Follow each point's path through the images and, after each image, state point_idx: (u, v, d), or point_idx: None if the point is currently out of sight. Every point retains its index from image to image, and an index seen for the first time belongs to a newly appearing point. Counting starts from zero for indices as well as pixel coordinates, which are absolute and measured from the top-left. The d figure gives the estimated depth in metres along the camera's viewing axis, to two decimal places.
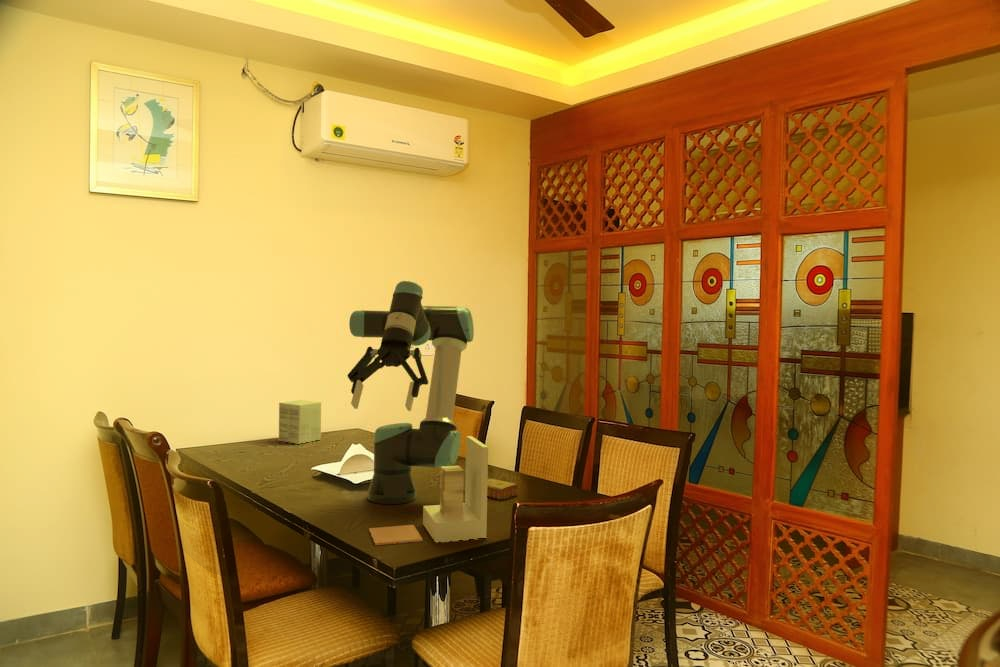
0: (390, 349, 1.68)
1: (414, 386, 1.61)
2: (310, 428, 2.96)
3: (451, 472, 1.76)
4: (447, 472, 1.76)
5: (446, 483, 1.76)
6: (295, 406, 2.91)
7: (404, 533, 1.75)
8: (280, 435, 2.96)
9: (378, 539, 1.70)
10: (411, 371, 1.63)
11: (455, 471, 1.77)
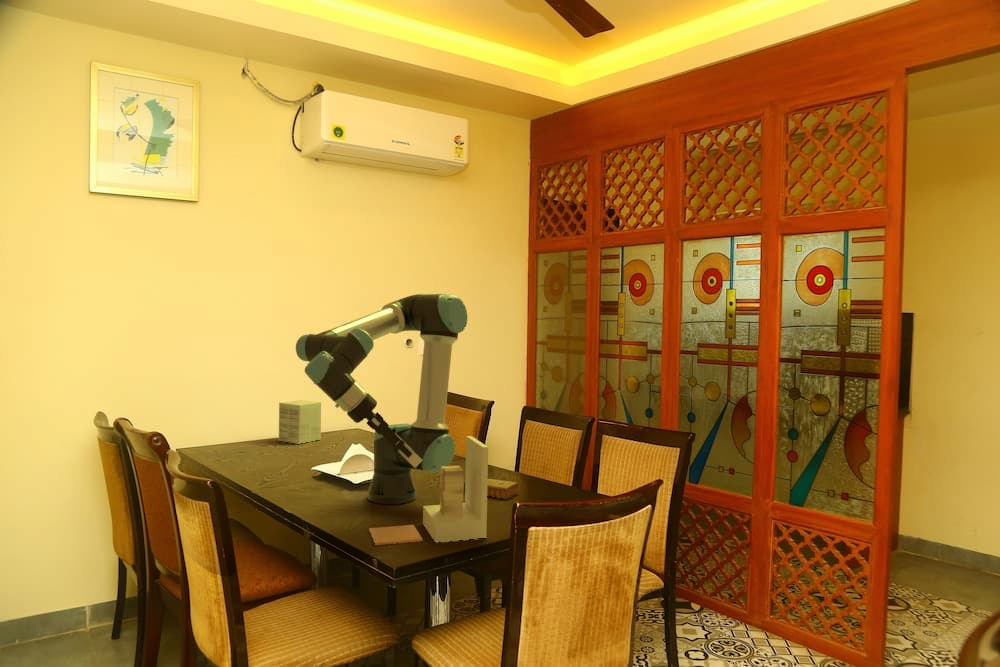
0: None
1: (402, 451, 1.67)
2: (310, 428, 2.96)
3: (451, 472, 1.76)
4: (447, 472, 1.76)
5: (446, 483, 1.76)
6: (295, 406, 2.91)
7: (404, 533, 1.75)
8: (280, 435, 2.96)
9: (378, 539, 1.70)
10: None
11: (455, 471, 1.77)
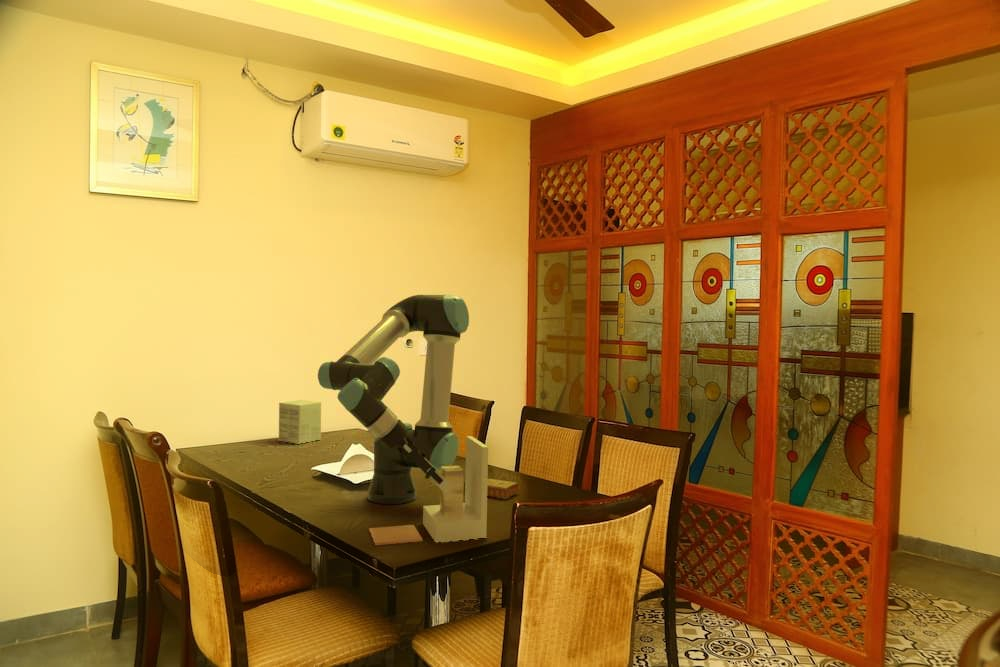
0: None
1: (433, 478, 1.69)
2: (310, 428, 2.96)
3: (451, 472, 1.76)
4: (447, 472, 1.76)
5: None
6: (295, 406, 2.91)
7: (404, 533, 1.75)
8: (280, 435, 2.96)
9: (378, 539, 1.70)
10: None
11: (455, 471, 1.77)
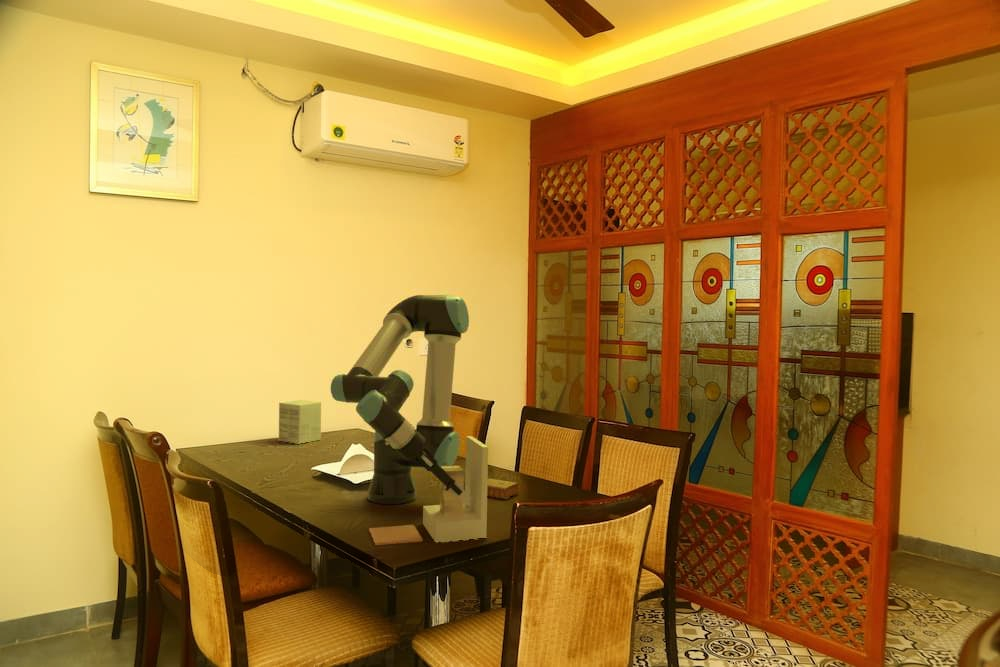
0: None
1: None
2: (310, 428, 2.96)
3: (451, 472, 1.76)
4: (447, 472, 1.76)
5: None
6: (295, 406, 2.91)
7: (404, 533, 1.75)
8: (280, 435, 2.96)
9: (378, 539, 1.70)
10: None
11: (455, 471, 1.77)
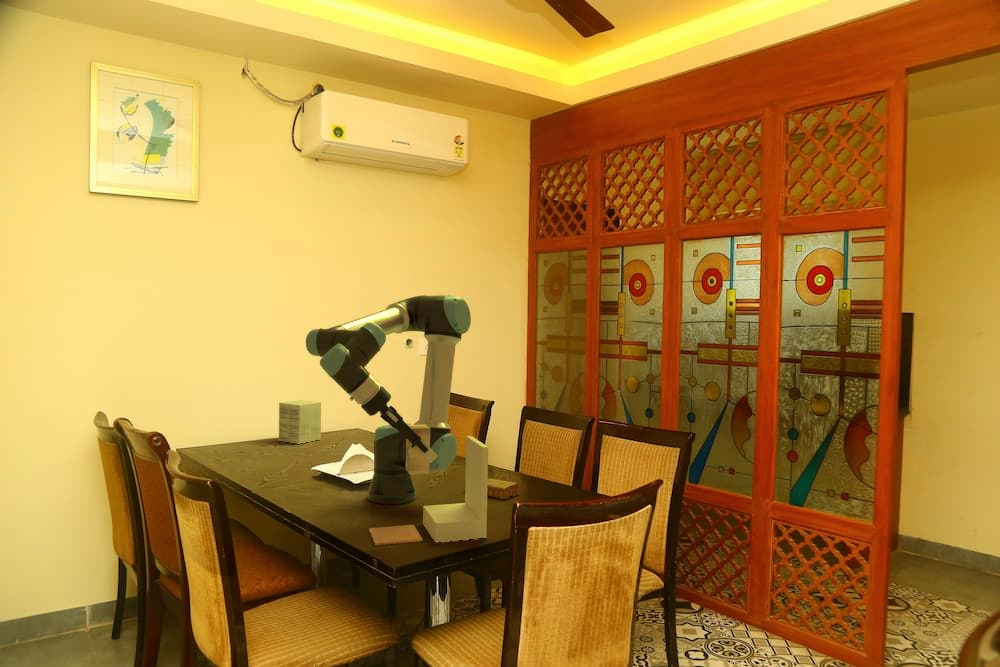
0: None
1: (418, 447, 1.72)
2: (310, 428, 2.96)
3: (417, 429, 1.73)
4: (413, 429, 1.72)
5: None
6: (295, 406, 2.91)
7: (404, 533, 1.75)
8: (280, 435, 2.96)
9: (378, 539, 1.70)
10: None
11: (421, 429, 1.73)
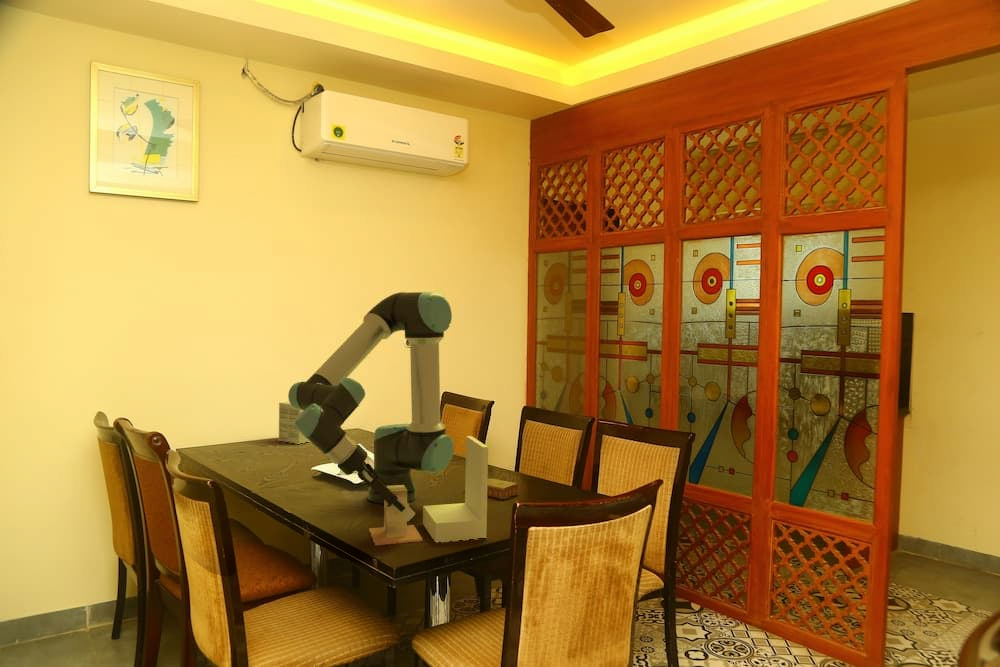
0: None
1: None
2: None
3: (394, 492, 1.72)
4: None
5: None
6: None
7: None
8: (280, 435, 2.96)
9: (378, 539, 1.70)
10: None
11: (398, 491, 1.72)
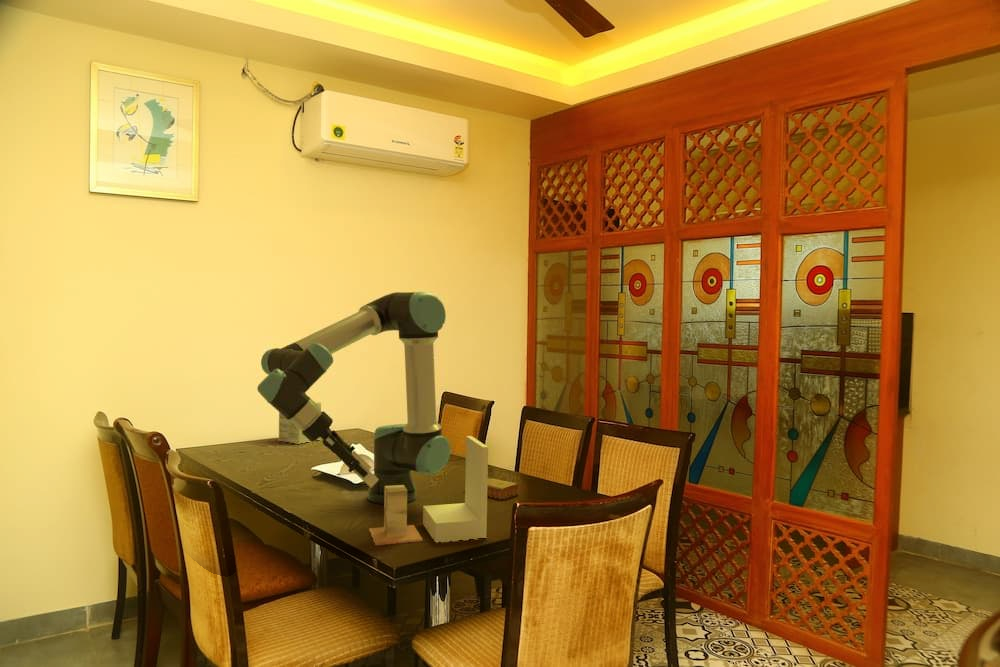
0: None
1: (357, 471, 1.64)
2: None
3: (394, 492, 1.72)
4: (390, 492, 1.71)
5: (389, 503, 1.71)
6: None
7: None
8: (280, 435, 2.96)
9: (378, 539, 1.70)
10: None
11: (398, 491, 1.72)
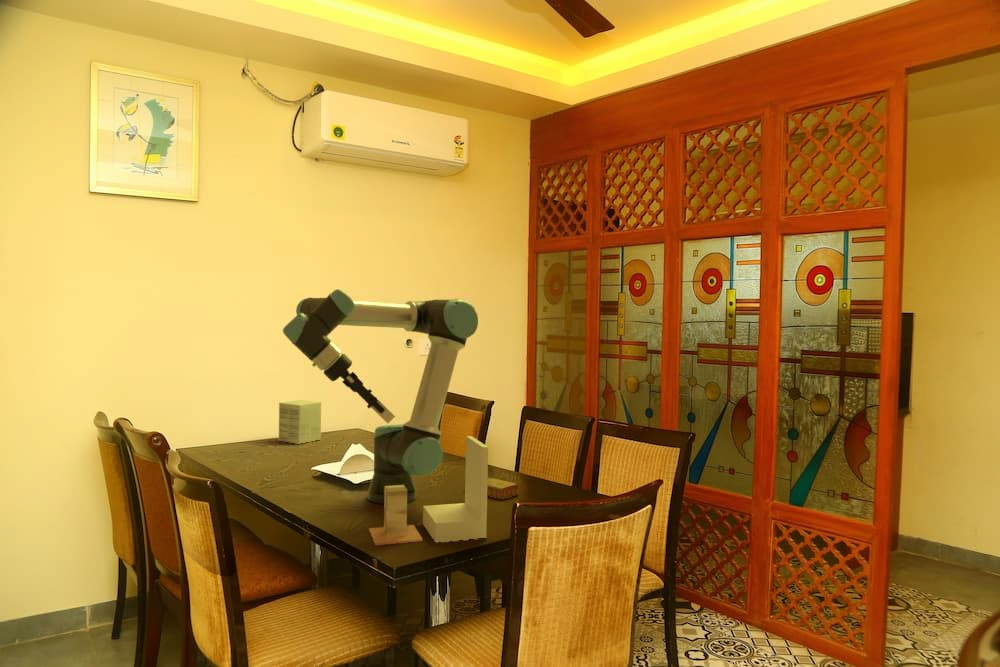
0: None
1: (375, 407, 1.77)
2: (310, 428, 2.96)
3: (394, 492, 1.72)
4: (390, 492, 1.71)
5: (389, 503, 1.71)
6: (295, 406, 2.91)
7: None
8: (280, 435, 2.96)
9: (378, 539, 1.70)
10: None
11: (398, 491, 1.72)
